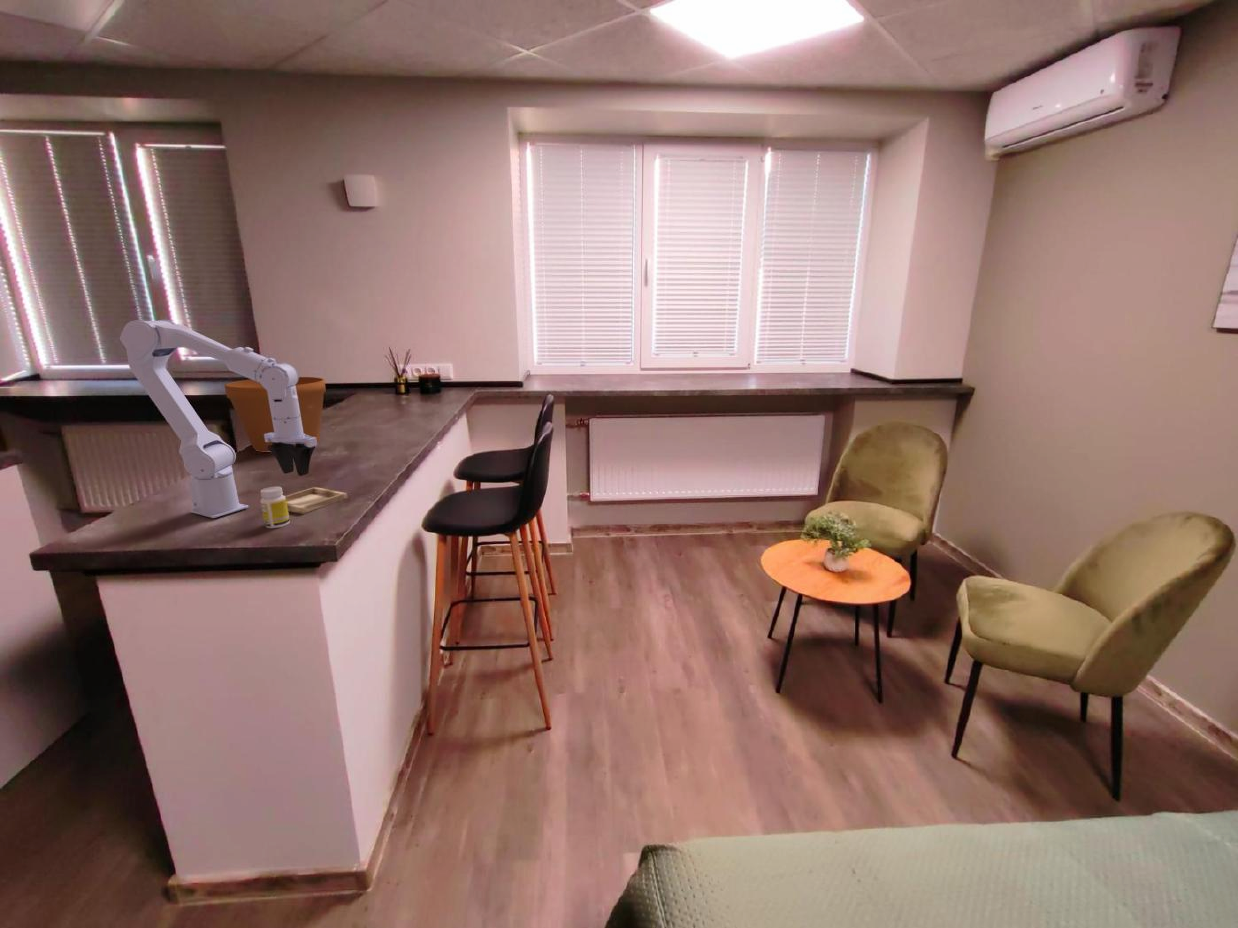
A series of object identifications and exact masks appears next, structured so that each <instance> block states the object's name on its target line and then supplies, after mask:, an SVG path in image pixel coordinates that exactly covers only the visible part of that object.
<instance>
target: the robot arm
mask: <svg viewBox="0 0 1238 928" xmlns="http://www.w3.org/2000/svg"><path fill="white" fill-rule="evenodd" d="M119 340H120V342H121V344H122V345H123V347H125V350H126V357H127V360H128V361H127V362H128V367H129V369H130V371H131V373H133V375H134V376H135V378H136V380H137V381H138V382H139V384H140V385H141V387H142V388H143V389H144V390H145V392H146V394H147V395H148V396H149V398H150V399H151V401H152V402H153V403H154V406H156V407H157V409H158V411H159V412H160V414H161V415H162V416H163V418H165V421H166V422H167V423H168V424H169V426H170V428H171V429H172V430H173V432H174V433H175V434H176V436H177V437H178V439H179V440H180V441H181V442H180V446H179V450H178V453H179V455H180V456H181V457H182V461H183V466H184V469H185V471H186V473H188V474H190V476H191V478H190V480H189V482H188V489H189V494H190V498H191V502H192V507H193V508H192V509H190V510H189V512H190V513H192V514H196V515H200V516H204V517H207V518H212V519H215V518H218V517H222V516H225V515H228V514H232V513H235V512H239V511H241V510H242V511H243V510H245V509H248V508H249V505H248V504H243V503H240V501H239V496H238V491H237V486H236V482H235V476H234V473H233V472H234V471H233V465H234V464H235V461H236V458H237V455H236V452H235V449H234V448H233V447H232V446H231V445H230V444H227V442H225V441H224V440H223V439H222V438H221V436H220V435H218V434H216V433H215V432H212V431H210V430H209V429H208V428H207V427H206V425H205V424H204V422H203V421H202V419H201V418H200V416H199V415H198V413H197V412H196V411H195V409H194V408H193V406H192V405H191V404H190V402H189V400H188V399H187V398H186V396H185V395H184V392H182V390H181V388H180V387H179V386H178V384H177V382H175V380H174V378H173V377H172V375H171V374H170V373H169V371H168V370H167V368H166V366H167V363H168V361H169V358H170V357H171V356H172V355H173V354H174V352H176V351H177V349H179V348H185V349H188V350H191V351H193V352H195V353H199V354H201V355H204V356H207V357H209V358H212V359H214V360H218V361H220V362H223V363H224V364H225V365H226V367H227V369H228V371H231V372H233V373H236V374H237V375H240V376H242V377H245V378H248V380H251V379H252V380H254V381H257V382H259V383H261V385H262V386H263V387H264V388H265V389H266V390H267V393H268V399H269V405H270V410H271V416H272V422H273V427H274V433H272V432H271V433H267V434H264V438H265V442H273V444H272V445H269V446H268V449H269V450H270V451H271V453H270V454H272V455H273V456H274V458H275V459H276V460H277V463H278V464H279V468H280V469H281V471H282V472H283V474H285V475H286V474H291V473H293V472H294V467H295V469H296V470H295V471H296V473H297V475H298V476H299V477H302V476H305V475H309V473H310V472H309V470H310V462H311V458H312V455H313V452H314V450H315V448H316V447H317V446H318V444H317V440H316V437H311V436H308V435H306V434H304V433H303V427H302V421H301V415H300V408H299V402H298V396H297V391H296V386H295V385H296V384H297V382H298V379H299V377H300V375H299V372H298V371H297V369H296V368H295V367H294V366H292V365H290V364H289V363H288V362H283V361H282V362H278V363H277V362H276V359H275V358H272V357H269V358H268V357H266V356H263V355H261V354H259V353H256V352H254V349H253V348H251V347H249V346H246V347H241V346H240V347H236V348H230V347H228V346H226V345H224V344H222V343H220V342H218V341H216V340H214V339H212V338H209V337H207V336H205V335H203V334H201V333H199V332H197V331H195V330H193V329H191V328H188V327H187V326H185V325H183V324H179V323H176V322H174V321H172V320H169V319H159V320H141V319H140V320H138V319H135V320H131V321H129V322H128V323H126V324H125V325H124V326H123V329H122V331H121V334H120V336H119ZM294 445H296V446H294ZM294 465H295V466H294Z"/></svg>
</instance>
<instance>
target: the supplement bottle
mask: <svg viewBox="0 0 1238 928" xmlns="http://www.w3.org/2000/svg"><path fill="white" fill-rule="evenodd" d="M283 494H284V493H283V488H282V487H281V486H277V485H276V486H268V487H265V488H263V489H261V490H260V496H261V498H260V507H261V512H262V517H263V521H264V526H265V528H266V529H277V528H278V529H279V528H282V527H285V526H287V525H289V524H290V522H291V520H290V515H289V514H290V513H289V511H288V508H287V502H286V497H285V496H286V495H283Z"/></svg>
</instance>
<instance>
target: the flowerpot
mask: <svg viewBox="0 0 1238 928" xmlns="http://www.w3.org/2000/svg"><path fill="white" fill-rule="evenodd" d="M295 386H296V391H297V396H298V402H299V408H300V415H301V421H302V427H303V433H304V434H306V435H308V436H311V437H316V440H317V445H318V444H319V443H320V436H321V427H322V419H323V418H322V416H323V406H324V397H325V395H324V393H326V392H327V390H326V381H325V379H324V378H322V377H316V376H314V377H313V376H299V379H298V382H297V384H296V385H295ZM224 389H225V395H226V398H227V399H229V400H230V402H231V404H232V406H233V408H234V410H235V412H236V415H237V416H238V418H239V420H240V423H241V426H242V427H243V430H244V432H245V434H246V436H247V438H248V440H249V442H250V445H251V447H252V446H253V447H252V449H253V448H255V450H259V451H270V450H269V449H268V446H269V445H272V444H273V442H265V438H264V434H267V433H271V432H272V433H274V427H273V422H272V416H271V410H270V405H269V399H268V393H267V390H266V389H265V388H264V387H263V386H262V385H261V383H259V382H257V381H254V380H252V379H245V380H238V381H237V380H236V381H231V382H228V383H225V384H224ZM294 446H296V445H294Z"/></svg>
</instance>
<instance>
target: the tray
mask: <svg viewBox="0 0 1238 928" xmlns="http://www.w3.org/2000/svg"><path fill="white" fill-rule="evenodd" d="M284 496H285V497H286V502H287V508H288V512H291V513H294V514H298V515H302V516H303V515H307V514H309V513H311V512H314V511H318V510H319V509H322V508H325V507H327V506H331V505H333V504H335V503H338V502H342V501H343V500H346V499H348V493H347V492H343V491H342V492H341V491H337V490H332V489H327V488H323V487H317V486H313V487H310V488H307V489H303V490H299V491H297V492H293V493H290V494H287V495H284ZM299 497H301V498H299Z"/></svg>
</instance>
